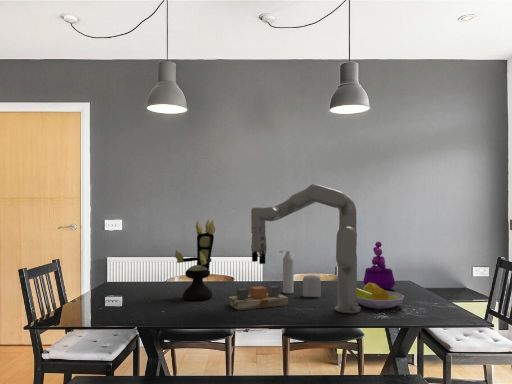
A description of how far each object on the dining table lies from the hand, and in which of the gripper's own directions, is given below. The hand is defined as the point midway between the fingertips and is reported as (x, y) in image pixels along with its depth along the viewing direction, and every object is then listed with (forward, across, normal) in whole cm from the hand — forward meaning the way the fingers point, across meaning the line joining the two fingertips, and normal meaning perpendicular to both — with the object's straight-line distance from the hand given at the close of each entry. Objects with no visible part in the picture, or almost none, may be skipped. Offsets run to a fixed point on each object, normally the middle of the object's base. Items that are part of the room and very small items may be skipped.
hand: (258, 262), depth 214 cm
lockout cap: (+18, 0, 0) cm, 18 cm away
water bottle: (+22, +21, -28) cm, 41 cm away
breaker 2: (+19, 0, -9) cm, 21 cm away
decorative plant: (+23, +5, -85) cm, 88 cm away
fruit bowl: (+23, -27, -55) cm, 65 cm away
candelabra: (+22, +30, +24) cm, 45 cm away
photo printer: (+22, +5, -36) cm, 43 cm away
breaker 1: (+19, 0, +9) cm, 21 cm away
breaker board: (+22, 0, 0) cm, 22 cm away
